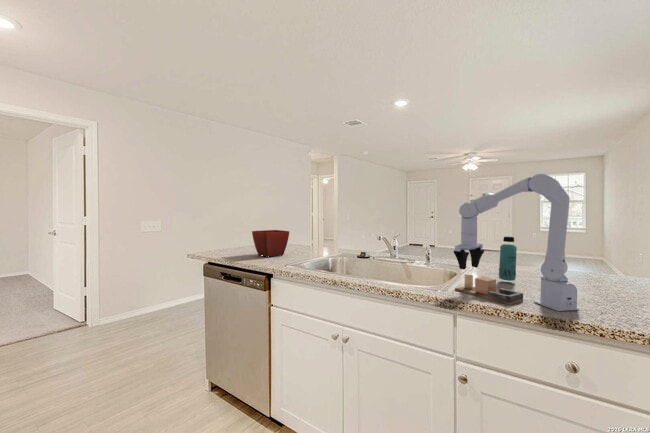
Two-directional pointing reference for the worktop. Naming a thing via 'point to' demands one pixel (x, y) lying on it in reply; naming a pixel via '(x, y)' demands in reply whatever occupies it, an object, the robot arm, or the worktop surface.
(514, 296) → the lane shelf
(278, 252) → the plant pot
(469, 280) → the clay block
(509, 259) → the beverage bottle
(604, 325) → the worktop surface
